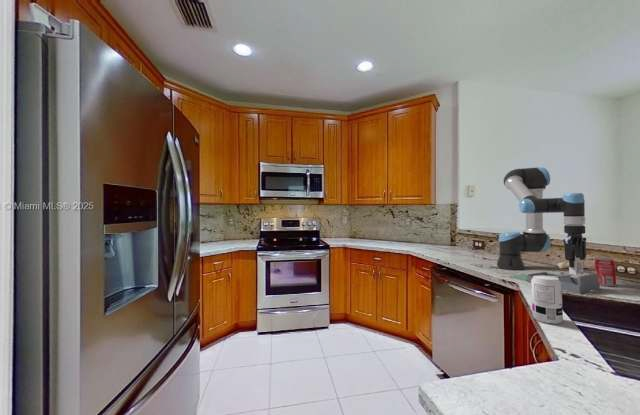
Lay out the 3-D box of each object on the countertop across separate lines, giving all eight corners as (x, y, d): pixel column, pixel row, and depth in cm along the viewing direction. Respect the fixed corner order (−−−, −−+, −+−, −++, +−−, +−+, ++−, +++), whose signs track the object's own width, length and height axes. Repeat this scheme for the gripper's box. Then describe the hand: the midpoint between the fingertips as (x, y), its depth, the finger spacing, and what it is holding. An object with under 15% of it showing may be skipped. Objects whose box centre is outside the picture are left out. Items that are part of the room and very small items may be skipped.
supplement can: (527, 316, 102) (525, 275, 102) (550, 315, 101) (548, 274, 102) (544, 325, 93) (542, 280, 94) (569, 324, 93) (567, 280, 93)
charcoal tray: (527, 282, 147) (526, 267, 147) (545, 278, 152) (545, 265, 153) (579, 293, 126) (579, 276, 126) (599, 289, 131) (599, 273, 131)
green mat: (508, 277, 158) (508, 276, 158) (523, 275, 162) (523, 274, 162) (526, 281, 149) (526, 279, 149) (541, 278, 153) (541, 277, 153)
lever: (538, 283, 143) (535, 279, 144) (554, 280, 148) (551, 276, 149) (574, 273, 128) (571, 268, 130) (591, 270, 133) (587, 265, 134)
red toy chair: (620, 287, 133) (619, 260, 133) (602, 286, 135) (601, 260, 135) (608, 283, 140) (607, 257, 140) (591, 283, 142) (590, 257, 142)
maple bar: (560, 268, 138) (557, 263, 139) (565, 267, 139) (562, 262, 140) (576, 263, 131) (573, 258, 132) (582, 262, 133) (578, 257, 134)
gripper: (572, 226, 127) (574, 277, 127) (594, 224, 133) (596, 273, 133) (553, 225, 134) (555, 274, 134) (576, 223, 140) (577, 270, 140)
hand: (576, 273), depth 133 cm, fingers closed on maple bar, 4 cm apart
